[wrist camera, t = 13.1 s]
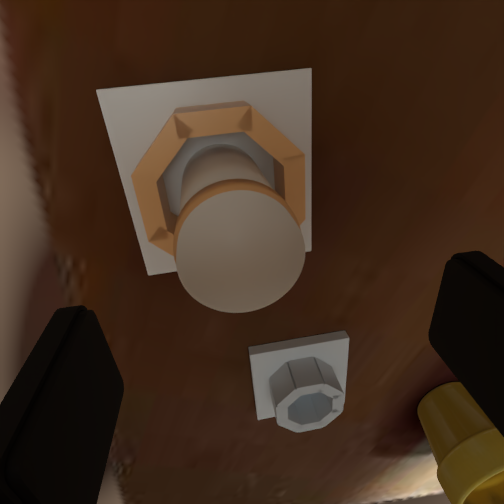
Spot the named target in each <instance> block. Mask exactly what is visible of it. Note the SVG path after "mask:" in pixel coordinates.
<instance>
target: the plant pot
mask: <svg viewBox="0 0 504 504" xmlns="http://www.w3.org/2000/svg"><path fill="white" fill-rule="evenodd" d="M417 413H418V417H419V419H420V422H421V424H422V427H423V429H424V432H425V434H426V437H427V440H428V442H429V445H430V447H431V450H432V452H433V455H434V457H435V460H436V462H437V465H438V469H437V478H438V480H439V482H440V484H441V486H442V488H443V490H444V492H445V494H446V495H447V497H448V499H449V500H450V502H451V504H504V437H503V436H502V435H501V433H500V432H499V431H498V430H497V428H496V427H495V426H494V424H493V423H492V422H491V421H490V419H489V418H488V417H487V416H486V414H485V413H484V412H483V410H482V409H481V408H480V407H479V405H478V404H477V403H476V402H475V400H474V399H473V398H472V396H471V395H470V394H469V393H468V391H467V390H466V389H465V388H464V386H463V385H462V384H461V382H450V383H446V384H443V385H440V386H438V387H436V388H434V389H433V390H431V391H430V392H429V393H427V394H426V395H425V396H424V397H423V399H422V400H421V401H420V403H419V405H418V409H417Z"/></svg>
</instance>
